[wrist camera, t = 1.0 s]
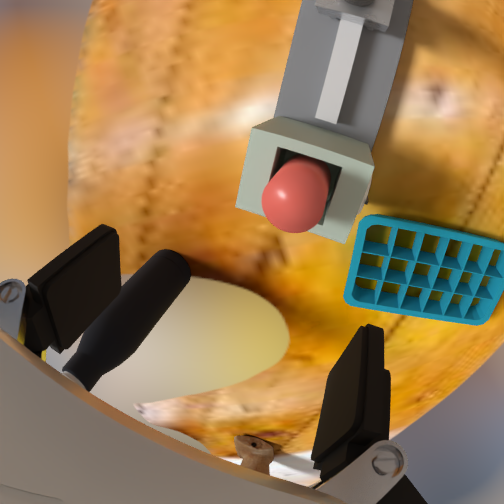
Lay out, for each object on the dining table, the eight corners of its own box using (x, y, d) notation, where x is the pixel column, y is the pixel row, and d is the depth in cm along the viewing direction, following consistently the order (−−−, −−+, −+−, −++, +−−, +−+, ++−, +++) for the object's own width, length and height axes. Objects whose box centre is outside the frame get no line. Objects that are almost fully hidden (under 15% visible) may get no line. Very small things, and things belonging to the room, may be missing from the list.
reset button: (337, 162, 23) (332, 185, 18) (322, 207, 25) (313, 241, 20) (288, 146, 24) (269, 165, 19) (276, 191, 26) (255, 221, 21)
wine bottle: (184, 248, 42) (31, 425, 18) (196, 287, 45) (72, 462, 21) (147, 249, 44) (1, 400, 20) (161, 285, 47) (37, 438, 23)
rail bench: (417, -22, 18) (441, -61, 9) (354, 200, 32) (353, 247, 23) (318, -50, 19) (300, -97, 10) (264, 170, 33) (229, 205, 25)
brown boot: (280, 462, 70) (265, 508, 58) (238, 452, 73) (220, 496, 61) (285, 441, 63) (267, 496, 50) (236, 429, 66) (214, 482, 53)
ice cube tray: (360, 202, 32) (360, 213, 30) (512, 236, 27) (521, 248, 25) (343, 289, 38) (341, 304, 36) (479, 311, 33) (484, 326, 31)
